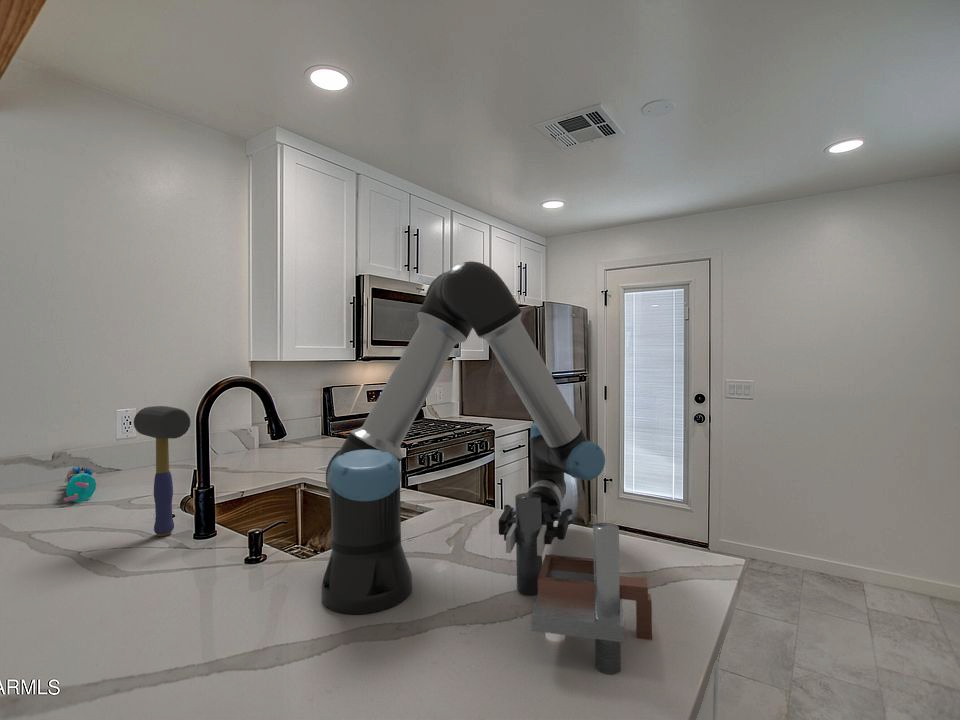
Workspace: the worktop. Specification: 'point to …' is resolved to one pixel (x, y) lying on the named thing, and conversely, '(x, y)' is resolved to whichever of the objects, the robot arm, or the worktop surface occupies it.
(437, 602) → the worktop surface
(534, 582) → the pin
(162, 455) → the rubber mallet
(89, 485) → the toy
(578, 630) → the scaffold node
